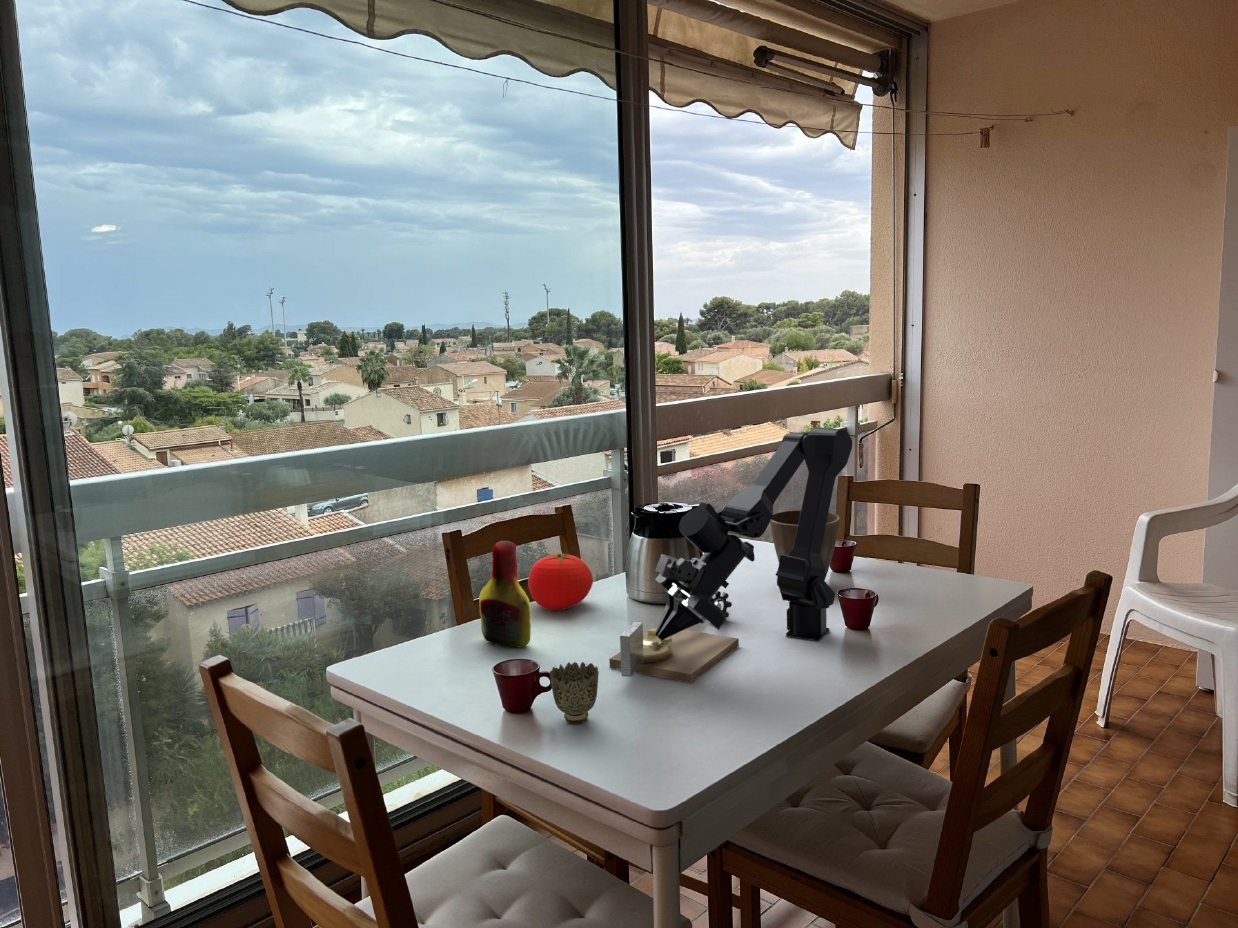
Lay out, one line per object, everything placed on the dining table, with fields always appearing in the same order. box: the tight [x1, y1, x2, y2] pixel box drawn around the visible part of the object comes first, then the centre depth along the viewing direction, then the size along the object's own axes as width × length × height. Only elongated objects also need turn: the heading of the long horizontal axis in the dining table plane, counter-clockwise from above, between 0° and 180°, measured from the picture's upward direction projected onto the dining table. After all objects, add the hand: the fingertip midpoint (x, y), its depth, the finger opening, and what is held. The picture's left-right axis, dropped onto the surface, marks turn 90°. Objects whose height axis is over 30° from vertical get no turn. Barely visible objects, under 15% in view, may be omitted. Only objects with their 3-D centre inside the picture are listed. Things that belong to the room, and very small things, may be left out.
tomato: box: [527, 553, 594, 611], centre depth 193 cm, size 13×14×12 cm
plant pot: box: [769, 509, 840, 579], centre depth 199 cm, size 15×15×16 cm
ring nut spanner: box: [619, 621, 673, 678], centre depth 156 cm, size 16×9×7 cm, turn 160°
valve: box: [710, 590, 733, 619], centre depth 184 cm, size 7×7×12 cm
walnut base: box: [608, 629, 740, 684], centre depth 162 cm, size 16×19×2 cm
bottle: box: [478, 540, 532, 649], centre depth 171 cm, size 12×6×20 cm, turn 48°
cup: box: [549, 661, 600, 725], centre depth 137 cm, size 8×7×8 cm
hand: (658, 637), depth 153 cm, fingers closed
